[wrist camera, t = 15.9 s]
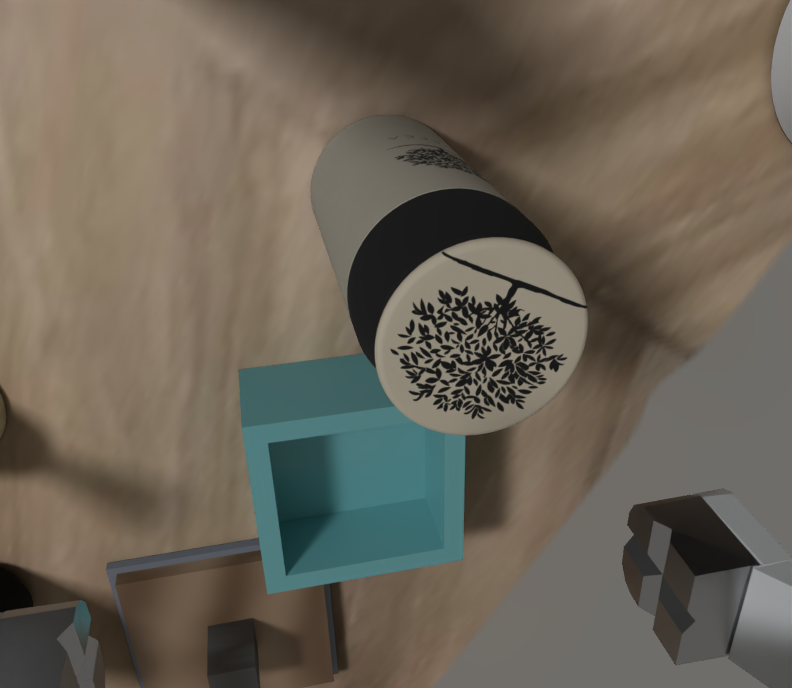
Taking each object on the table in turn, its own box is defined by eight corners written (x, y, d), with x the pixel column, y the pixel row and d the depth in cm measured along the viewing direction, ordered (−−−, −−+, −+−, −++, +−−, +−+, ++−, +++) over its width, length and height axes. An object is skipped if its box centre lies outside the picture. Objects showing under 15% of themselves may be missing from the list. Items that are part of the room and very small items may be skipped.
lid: (318, 540, 51) (328, 596, 47) (331, 669, 57) (341, 730, 53) (116, 574, 49) (107, 636, 44) (153, 704, 55) (148, 770, 51)
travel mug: (404, 280, 44) (507, 472, 28) (282, 216, 41) (323, 393, 25) (482, 161, 41) (642, 300, 26) (359, 83, 38) (459, 188, 23)
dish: (438, 344, 46) (466, 396, 41) (438, 497, 52) (463, 559, 47) (238, 369, 44) (241, 427, 39) (262, 526, 50) (267, 594, 45)
